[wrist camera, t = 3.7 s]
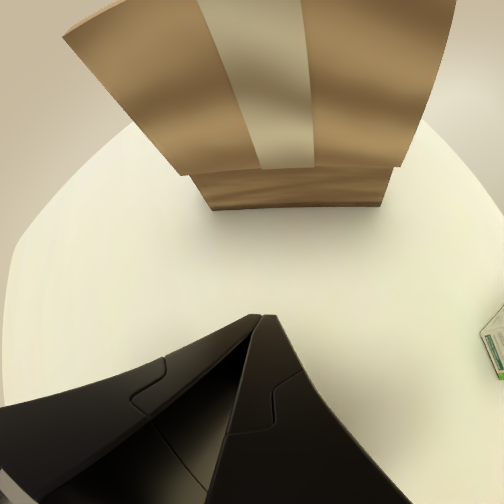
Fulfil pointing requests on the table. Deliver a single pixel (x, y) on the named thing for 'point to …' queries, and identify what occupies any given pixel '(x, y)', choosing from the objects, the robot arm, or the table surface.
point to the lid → (269, 77)
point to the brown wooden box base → (294, 187)
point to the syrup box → (495, 341)
